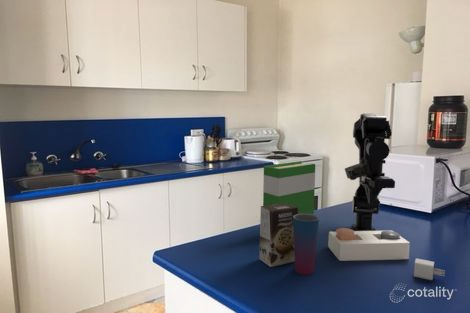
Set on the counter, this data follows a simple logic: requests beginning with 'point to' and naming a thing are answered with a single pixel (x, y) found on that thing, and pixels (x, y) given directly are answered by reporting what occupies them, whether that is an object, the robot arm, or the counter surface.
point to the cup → (305, 242)
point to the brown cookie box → (277, 234)
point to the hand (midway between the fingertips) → (370, 204)
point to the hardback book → (290, 185)
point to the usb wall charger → (426, 269)
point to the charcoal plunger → (389, 235)
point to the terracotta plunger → (345, 234)
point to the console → (368, 247)
